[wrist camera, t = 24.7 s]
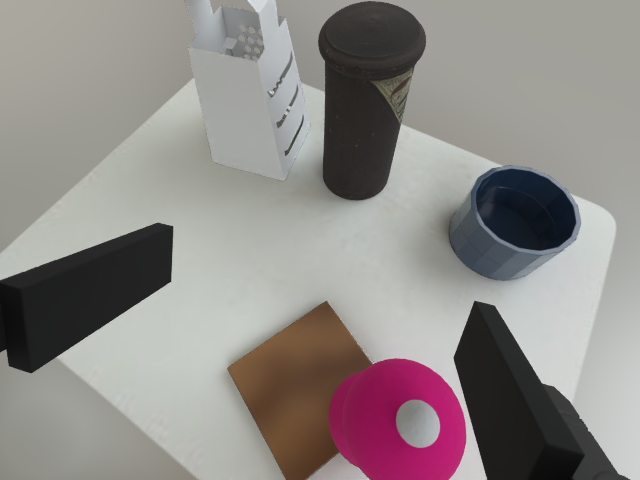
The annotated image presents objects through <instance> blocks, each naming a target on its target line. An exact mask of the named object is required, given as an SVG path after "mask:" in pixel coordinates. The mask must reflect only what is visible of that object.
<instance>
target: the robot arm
mask: <svg viewBox="0 0 640 480" xmlns="http://www.w3.org/2000/svg"><path fill="white" fill-rule="evenodd" d="M172 247H173V226H169V225H165V224H161V223H156V224H153V225H150V226H147V227H145V228H142V229H139V230H137V231H134V232H131V233H128V234H126V235H123V236H120V237H118V238H115V239H112V240H109V241H107V242H104V243H101V244H99V245H96V246H93V247H91V248H88V249H85V250H82V251H80V252H77V253H74V254H72V255H69V256H66V257H63V258H61V259H58V260H54V261H52V262H49V263H46V264H43V265H41V266H39V267H35V268H33V269H30V270H27V271H25V272H22V273H19V274H16V275H14V276H11V277H8V278H5V279H3V280H0V352H2V351H3V350H5V349H6V350H7V356H8V363H9V366H10V367H13V368H16V369H19V370H22V371H25V372H29V373H33V372H34V371H36V370H37V369H39V368H40V367H42V366H43V365H45V364H46V363H48V362H49V361H51V360H52V359H54V358H55V357H57V356H59V355H60V354H62V353H63V352H65V351H66V350H68V349H69V348H71V347H72V346H74V345H75V344H77V343H78V342H80V341H81V340H83V339H84V338H86V337H87V336H89V335H90V334H92V333H94V332H95V331H97V330H98V329H100V328H101V327H103V326H104V325H106V324H107V323H109V322H110V321H112V320H113V319H115V318H116V317H118V316H119V315H121V314H122V313H124V312H125V311H127V310H128V309H130V308H132V307H133V306H135V305H136V304H138V303H139V302H141V301H142V300H144V299H145V298H147V297H148V296H150V295H151V294H153V293H154V292H156V291H157V290H159V289H160V288H162V287H163V286H165V285H167V284H168V283H170V282H171V272H172ZM454 362H455V365H456V369H457V372H458V376H459V380H460V383H461V387H462V390H463V394H464V398H465V401H466V405H467V408H468V412H469V416H470V419H471V423H472V426H473V430H474V434H475V437H476V441H477V444H478V448H479V452H480V455H481V459H482V462H483V466H484V470H485V473H486V477H487V480H630V479H628V478H626V477H624V476H622V475H619V474H618V473H617V471H616V470H615V468H614V467H613V465H612V464H611V462H610V461H609V459H608V458H607V456H606V455H605V453H604V452H603V450H602V449H601V448H600V446H599V444H598V443H597V442H596V440H595V439H594V437H593V436H592V434H591V433H590V432H589V431H588V428H587V427H586V425H585V424H584V422H583V421H582V419H579V415H578V413H577V412H576V410H575V409H574V407H573V406H572V404H571V403H570V401H569V400H568V399H567V398H565V397H564V396H563V395H562V394H561V393H560V392H559V391H558V390H557V389H556V388H555V387H553V386H549V385H545V384H542V383H541V381H540V380H539V378H538V376H537V375H536V373H535V371H534V370H533V368H532V366H531V365H530V363H529V361H528V360H527V358H526V357H525V355H524V353H523V352H522V350H521V348H520V347H519V345H518V343H517V342H516V340H515V338H514V337H513V335H512V333H511V332H510V330H509V329H508V327H507V325H506V324H505V322H504V320H503V319H502V317H501V315H500V314H499V312H498V310H497V309H496V307H495V306H494V305H490V304H486V303H482V302H477V301H474V304H473V307H472V309H471V312H470V315H469V317H468V320H467V323H466V325H465V328H464V331H463V334H462V336H461V339H460V342H459V344H458V347H457V350H456V353H455V355H454Z"/></svg>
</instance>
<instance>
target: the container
mask: <svg viewBox="0 0 640 480" xmlns="http://www.w3.org/2000/svg"><path fill="white" fill-rule="evenodd" d="M318 45H319V50H320V54H321V55H322V57H323V59H324V60H325V127H324V155H323V178H324V182H325V184H326V186H327V187H328V188H329V189H330V190H331V191H332V192H333V193H334V194H336V195H338V196H340V197H342V198H345V199H350V200H363V199H367V198H371V197H373V196H375V195H376V194H378V193H379V192H381V191H382V190H383V188H384V187H385V185H386V183H387V180H388V177H389V173H390V169H391V164H392V160H393V155H394V151H395V147H396V142H397V138H398V134H399V130H400V126H401V122H402V117H403V113H404V109H405V104H406V99H407V94H408V91H409V87H410V82H411V78H412V74H413V70H414V66H415V64H416V63H417V61H418V60H419V59H420V58H421V56H422V54H423V52H424V49H425V46H426V36H425V32H424V29H423V27H422V26H421V24H420V23H419V22H418V21H417V19H416V18H415V17H414V16H413V15H412V14H411V13H410V12H408V11H406V10H405V9H403V8H401V7H398V6H395V5H392V4H389V3H384V2H375V1H373V2H372V1H368V2H360V3H356V4H352V5H349V6H347V7H345V8H343V9H341V10H339V11H338V12H336V13H335V14H334V15H332V16H331V17H330V18H329V19H328V20H327V21H326V22H325V24H324V25H323V27H322V29H321V31H320V34H319V40H318Z"/></svg>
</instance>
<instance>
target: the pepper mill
mask: <svg viewBox="0 0 640 480" xmlns="http://www.w3.org/2000/svg"><path fill="white" fill-rule="evenodd" d="M328 418H329V428H330V433H331V436H332V438H333V441H334V443H335V445H336V447H337V448H338V450H339V452H340V453H341V454H342V455H343V456H344V457H345V458H346V459H347V460H348V461H349V462H350V463H352V464H353V465H355V466H357V467H359V468H360V469H361V470H362V472H363V473H364V474H365V475H366V476H367V477H368V478H369V479H371V480H449V479H450V478H451V476H452V475H453V474H454V473H455V471H456V469H457V468H458V466H459V464H460V461H461V459H462V456H463V453H464V449H465V444H466V426H465V419H464V415H463V411H462V408H461V406H460V403H459V401H458V399H457V397H456V395H455V394H454V392H453V390H452V389H451V387H450V386H449V385H448V384H447V383H446V382H445V381H444V380H443V378H442V377H441V376H440V375H438V374H437V373H435V372H434V371H433V370H431V369H430V368H428V367H426V366H424V365H422V364H420V363H418V362H415V361H411V360H407V359H396V358H395V359H388V360H384V361H380V362H377V363H375V364H373V365H371V366H369V367H368V368H366V369H365V370H364V371H362V372H358V373H355V374H353V375H351V376H349V377H348V378H347V379H345V380H344V381H343V382H342V383H341V384H340V385H339V386H338V388H337V389H336V391H335V393H334V395H333V397H332V399H331V403H330V406H329V414H328Z"/></svg>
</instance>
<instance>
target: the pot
mask: <svg viewBox="0 0 640 480" xmlns="http://www.w3.org/2000/svg"><path fill="white" fill-rule="evenodd" d="M580 226H581V219H580V214H579V209H578V205H577V204H576V202H575V201H574V199H573V198H572V196H571V195H570V193H569V192H568V191H567V189H566V188H564V187H563V186H562V185H561V184H559V183H558V182H557V181H556V180H554V179H553V178H552V177H551V176H549V175H546V174H544V173H542V172H539V171H537V170H535V169H532V168H529V167H520V166H513V165H508V166H503V167H498V168H492V169H491V170H489V171H488V172H486V173H484V174H483V175H481V176H480V177H478V179H477V180H476V182H475V183H474V185H473V186H472V188H471V189H470V191H469V193H468V194H467V196H466V197H465V199H464V200H463V202H462V203H461V205H460V206H459V208H458V209H457V211H456V213H455V215H454V217H453V218H452V220H451V222H450V227H449V237H450V242H451V245H452V248H453V249H454V251H455V253H456V255H457V256H458V257H459V259H460V260H461V261H462V262H463V263H464V264H465V265H466V266H467V267H469V268H470V269H471V270H473V271H475V272H476V273H478V274H480V275H482V276H485V277H488V278H491V279H496V280H514V279H518V278H521V277H524V276H526V275H528V274H529V273H531V272H532V271H534V270H535V269H537V268H538V267H540V266H541V265H542V264H544V263H545V262H547V261H548V260H550V259H551V258H553V257H554V256H556V255H557V254H559V253H560V252H561V251H563V250H564V249H565V248H567V247H568V246H569V245H570V244H571V243H573V242H574V241H575V240H576V238H577V235H578V232H579V229H580Z"/></svg>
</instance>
